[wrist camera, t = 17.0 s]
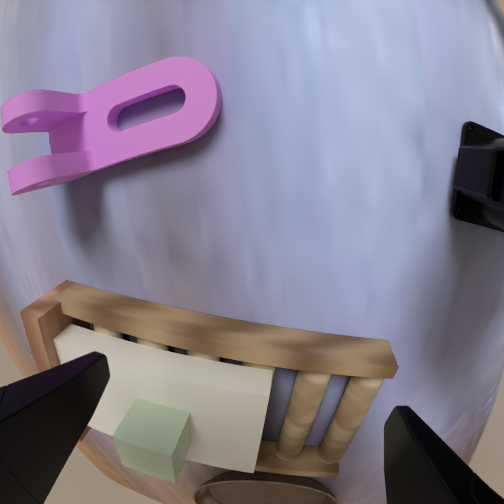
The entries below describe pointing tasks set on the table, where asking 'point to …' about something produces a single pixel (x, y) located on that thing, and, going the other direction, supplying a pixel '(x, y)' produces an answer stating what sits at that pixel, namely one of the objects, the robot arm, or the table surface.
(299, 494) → the plant saucer
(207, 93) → the bracket
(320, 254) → the table surface
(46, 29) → the table surface
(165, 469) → the block
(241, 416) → the slab
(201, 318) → the roller track
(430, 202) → the table surface
